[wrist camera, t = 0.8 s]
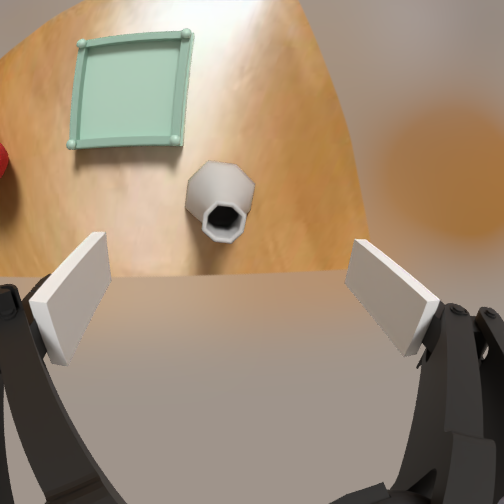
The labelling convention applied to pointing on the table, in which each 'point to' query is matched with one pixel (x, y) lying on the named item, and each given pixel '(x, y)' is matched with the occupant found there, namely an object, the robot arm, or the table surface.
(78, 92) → the base board
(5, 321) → the robot arm
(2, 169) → the strawberry
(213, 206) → the flask
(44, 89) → the table surface
